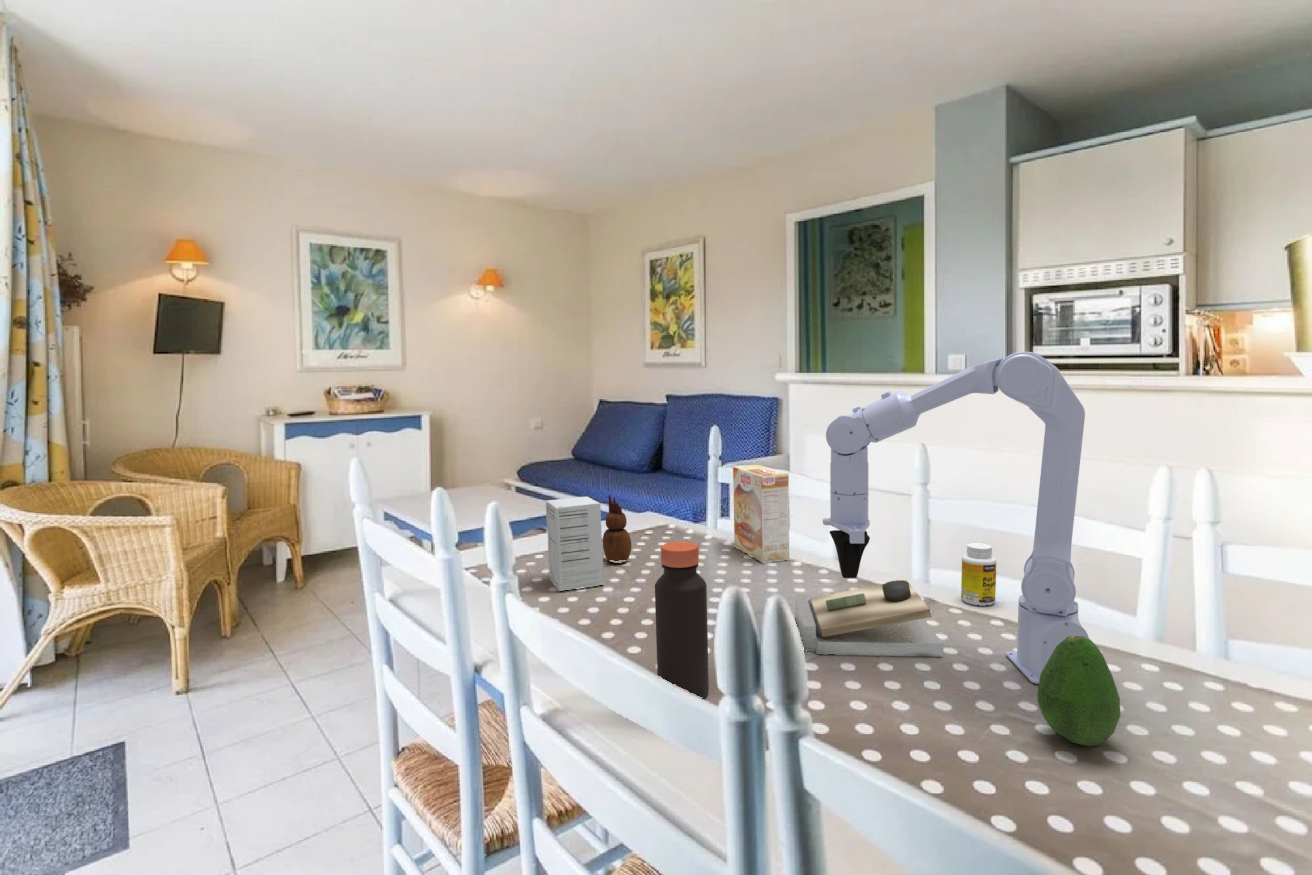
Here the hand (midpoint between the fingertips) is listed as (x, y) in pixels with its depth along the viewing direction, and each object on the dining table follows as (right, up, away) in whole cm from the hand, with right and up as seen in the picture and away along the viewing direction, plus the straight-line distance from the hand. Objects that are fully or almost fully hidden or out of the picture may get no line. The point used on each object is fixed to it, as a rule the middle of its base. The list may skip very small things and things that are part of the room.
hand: (849, 576), depth 109 cm
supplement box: (-47, -8, +31) cm, 57 cm away
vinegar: (-27, -12, -17) cm, 34 cm away
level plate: (+3, -5, 0) cm, 6 cm away
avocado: (+17, -13, -31) cm, 37 cm away
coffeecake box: (-7, -5, +49) cm, 49 cm away
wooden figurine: (-39, -6, +45) cm, 60 cm away
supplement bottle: (+27, -7, +14) cm, 31 cm away
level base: (+3, -9, +1) cm, 10 cm away
